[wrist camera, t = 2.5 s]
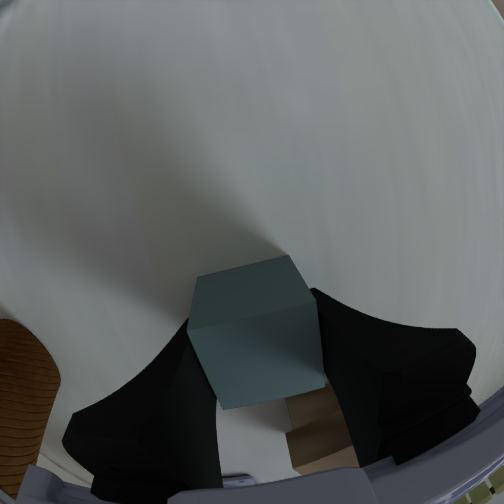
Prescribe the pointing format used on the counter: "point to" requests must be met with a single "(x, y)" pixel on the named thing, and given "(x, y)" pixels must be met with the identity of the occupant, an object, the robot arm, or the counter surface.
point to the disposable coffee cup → (22, 403)
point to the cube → (257, 333)
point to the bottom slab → (312, 406)
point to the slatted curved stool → (485, 489)
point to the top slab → (322, 445)
